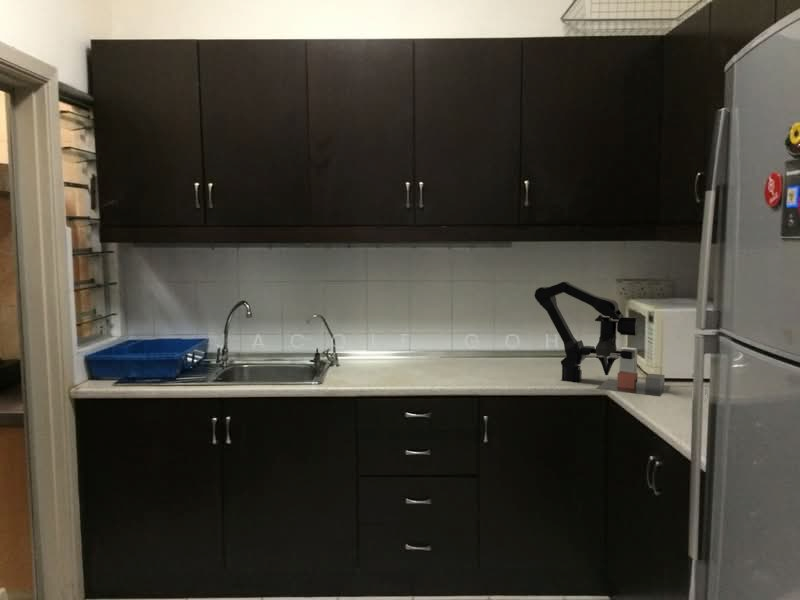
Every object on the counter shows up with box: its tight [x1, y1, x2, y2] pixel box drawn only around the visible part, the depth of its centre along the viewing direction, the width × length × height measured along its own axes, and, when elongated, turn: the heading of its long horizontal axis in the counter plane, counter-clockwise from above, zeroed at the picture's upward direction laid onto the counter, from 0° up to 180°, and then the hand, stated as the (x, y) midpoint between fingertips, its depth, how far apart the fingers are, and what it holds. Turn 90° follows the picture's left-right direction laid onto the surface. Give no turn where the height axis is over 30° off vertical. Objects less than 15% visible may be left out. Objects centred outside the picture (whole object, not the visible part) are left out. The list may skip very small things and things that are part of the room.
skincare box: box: [618, 346, 638, 373], centre depth 253 cm, size 6×4×12 cm
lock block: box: [616, 371, 639, 389], centre depth 235 cm, size 6×5×5 cm
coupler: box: [595, 372, 671, 397], centre depth 234 cm, size 22×20×6 cm
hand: (606, 375), depth 239 cm, fingers closed
